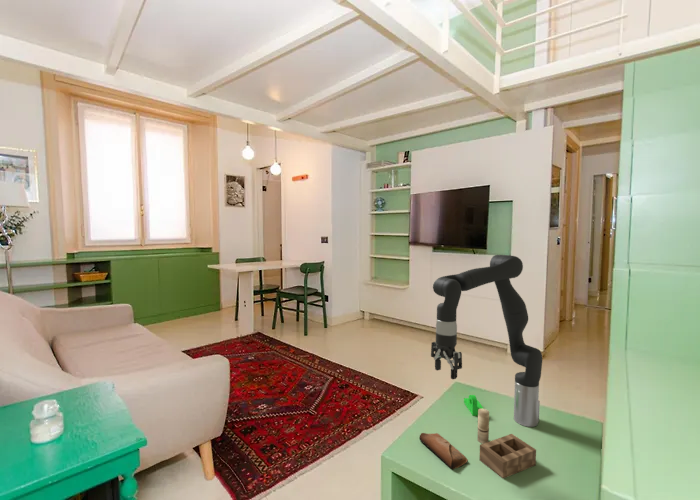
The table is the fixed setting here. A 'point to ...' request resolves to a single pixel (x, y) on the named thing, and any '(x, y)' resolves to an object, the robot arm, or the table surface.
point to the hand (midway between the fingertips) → (445, 374)
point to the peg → (483, 426)
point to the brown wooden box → (507, 455)
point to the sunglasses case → (443, 450)
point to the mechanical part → (473, 405)
